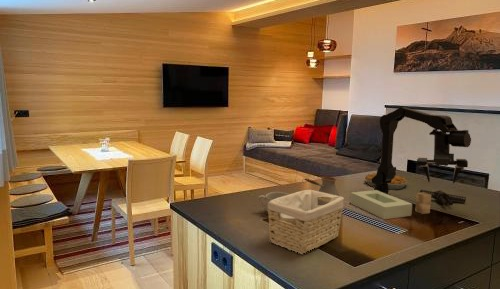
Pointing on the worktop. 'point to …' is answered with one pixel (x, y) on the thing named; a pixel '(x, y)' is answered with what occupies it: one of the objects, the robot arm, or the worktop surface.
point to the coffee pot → (325, 187)
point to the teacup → (270, 198)
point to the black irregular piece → (445, 197)
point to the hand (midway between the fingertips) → (441, 182)
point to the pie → (395, 183)
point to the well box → (381, 204)
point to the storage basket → (304, 219)
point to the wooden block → (423, 203)
